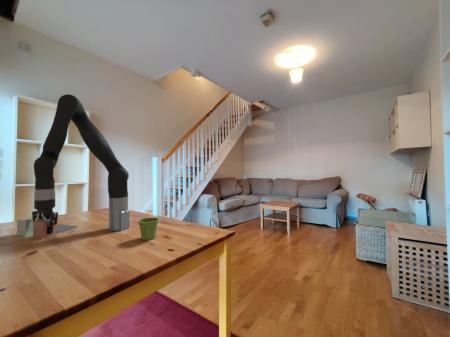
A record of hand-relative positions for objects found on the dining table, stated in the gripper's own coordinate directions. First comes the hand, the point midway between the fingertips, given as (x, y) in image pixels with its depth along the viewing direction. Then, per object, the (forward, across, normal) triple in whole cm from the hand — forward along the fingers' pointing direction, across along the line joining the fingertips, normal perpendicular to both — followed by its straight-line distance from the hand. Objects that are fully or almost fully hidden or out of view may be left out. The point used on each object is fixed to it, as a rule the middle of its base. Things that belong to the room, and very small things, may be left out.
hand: (44, 233), depth 95 cm
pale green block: (+2, +11, 0) cm, 11 cm away
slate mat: (+2, +6, -11) cm, 13 cm away
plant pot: (+2, -49, -12) cm, 50 cm away
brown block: (+2, 0, 0) cm, 2 cm away
